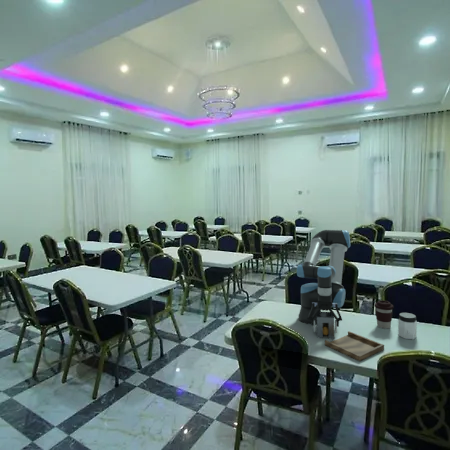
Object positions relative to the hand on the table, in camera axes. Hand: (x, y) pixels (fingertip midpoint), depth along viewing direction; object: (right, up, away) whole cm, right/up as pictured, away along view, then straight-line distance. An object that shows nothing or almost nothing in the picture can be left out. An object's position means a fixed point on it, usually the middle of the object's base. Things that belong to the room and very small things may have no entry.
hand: (325, 331), depth 184 cm
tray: (+10, -3, -16) cm, 19 cm away
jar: (+44, -1, -5) cm, 44 cm away
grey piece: (0, -2, 0) cm, 2 cm away
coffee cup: (+38, 0, +8) cm, 39 cm away
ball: (0, 0, 0) cm, 0 cm away
